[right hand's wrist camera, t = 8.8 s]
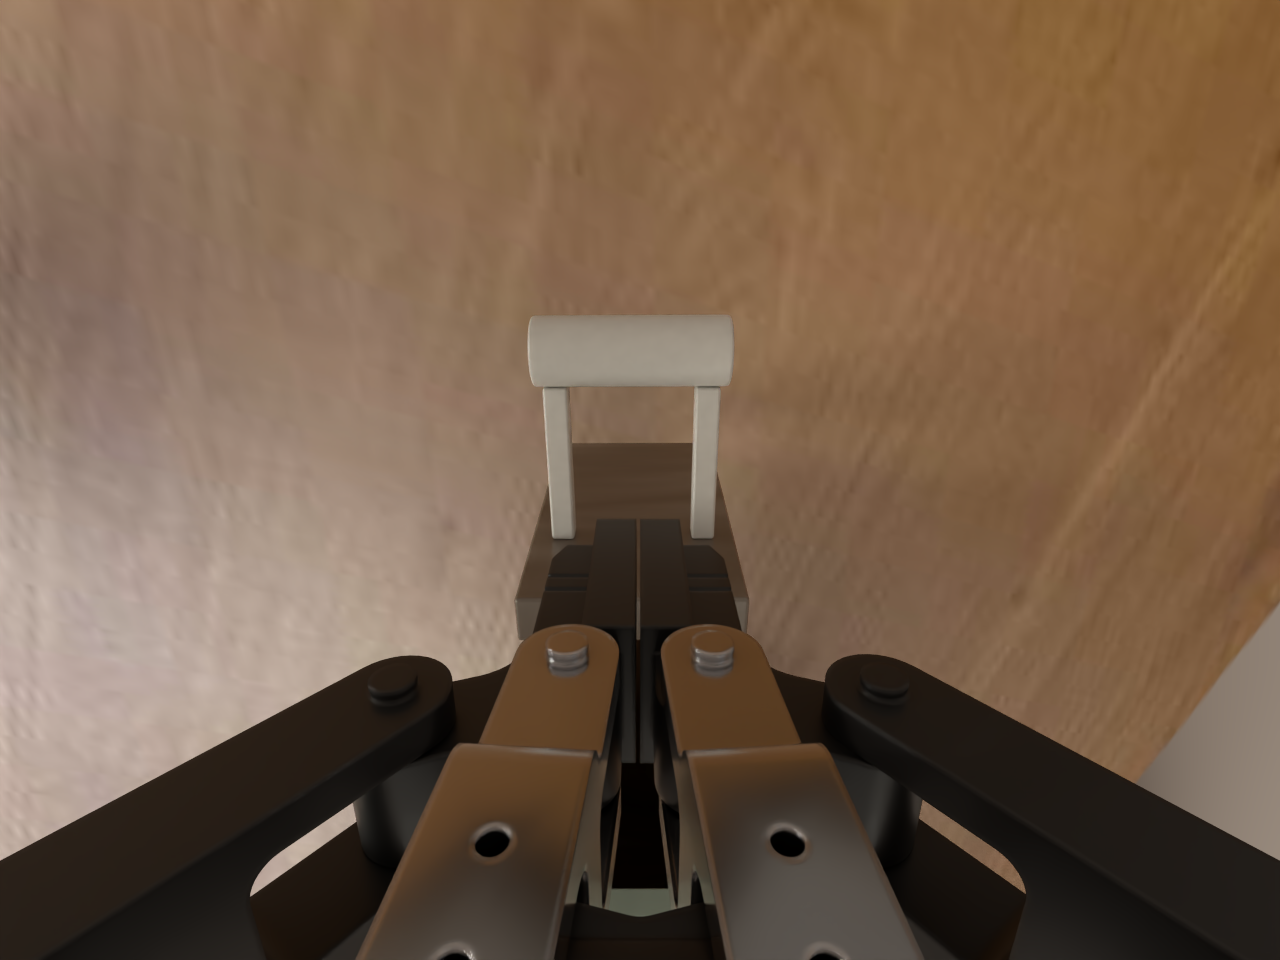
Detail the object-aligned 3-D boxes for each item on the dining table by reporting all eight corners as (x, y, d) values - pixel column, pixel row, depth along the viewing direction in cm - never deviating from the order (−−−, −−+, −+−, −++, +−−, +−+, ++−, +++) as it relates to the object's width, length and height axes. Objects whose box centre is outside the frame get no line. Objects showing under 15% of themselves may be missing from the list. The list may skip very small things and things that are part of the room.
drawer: (550, 274, 22) (488, 346, 13) (717, 273, 22) (769, 345, 13) (581, 817, 32) (558, 1061, 24) (694, 817, 32) (714, 1061, 24)
